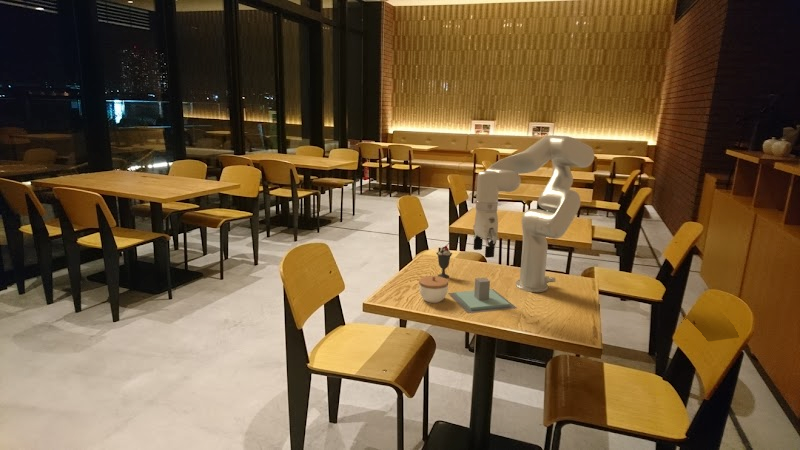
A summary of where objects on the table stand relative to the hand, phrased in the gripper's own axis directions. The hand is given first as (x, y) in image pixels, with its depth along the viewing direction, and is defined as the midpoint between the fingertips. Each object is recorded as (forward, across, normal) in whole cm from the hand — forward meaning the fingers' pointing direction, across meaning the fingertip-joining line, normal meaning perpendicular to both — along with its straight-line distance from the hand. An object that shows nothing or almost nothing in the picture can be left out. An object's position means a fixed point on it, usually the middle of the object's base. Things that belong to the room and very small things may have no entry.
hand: (483, 253), depth 170 cm
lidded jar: (+19, +5, +16) cm, 26 cm away
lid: (+18, 0, -1) cm, 18 cm away
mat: (+18, 0, -1) cm, 19 cm away
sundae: (+19, +29, +3) cm, 35 cm away
